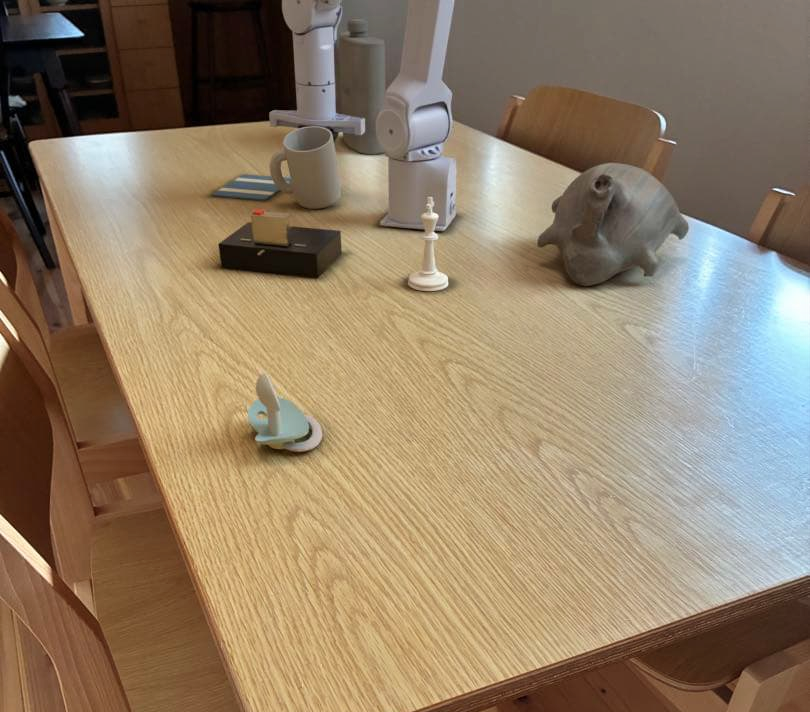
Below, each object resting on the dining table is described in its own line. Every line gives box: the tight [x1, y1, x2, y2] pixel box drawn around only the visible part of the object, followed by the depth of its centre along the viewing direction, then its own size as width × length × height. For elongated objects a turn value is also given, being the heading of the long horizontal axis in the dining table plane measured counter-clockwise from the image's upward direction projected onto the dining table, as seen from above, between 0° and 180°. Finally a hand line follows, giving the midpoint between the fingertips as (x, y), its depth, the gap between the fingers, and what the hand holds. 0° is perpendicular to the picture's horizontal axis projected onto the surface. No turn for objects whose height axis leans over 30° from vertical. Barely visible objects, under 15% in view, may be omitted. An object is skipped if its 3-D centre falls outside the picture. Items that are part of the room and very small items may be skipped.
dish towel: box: [211, 174, 291, 202], centre depth 130 cm, size 9×12×1 cm
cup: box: [269, 126, 342, 210], centre depth 119 cm, size 7×10×9 cm
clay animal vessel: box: [537, 162, 690, 287], centre depth 101 cm, size 18×16×14 cm
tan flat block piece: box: [250, 208, 292, 247], centre depth 99 cm, size 4×2×4 cm, turn 75°
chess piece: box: [407, 197, 449, 292], centre depth 95 cm, size 5×5×10 cm
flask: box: [338, 18, 386, 155], centre depth 146 cm, size 15×6×20 cm, turn 20°
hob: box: [217, 221, 343, 279], centre depth 102 cm, size 13×11×3 cm
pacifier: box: [247, 372, 323, 453], centre depth 68 cm, size 7×6×6 cm
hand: (319, 180), depth 126 cm, fingers closed
